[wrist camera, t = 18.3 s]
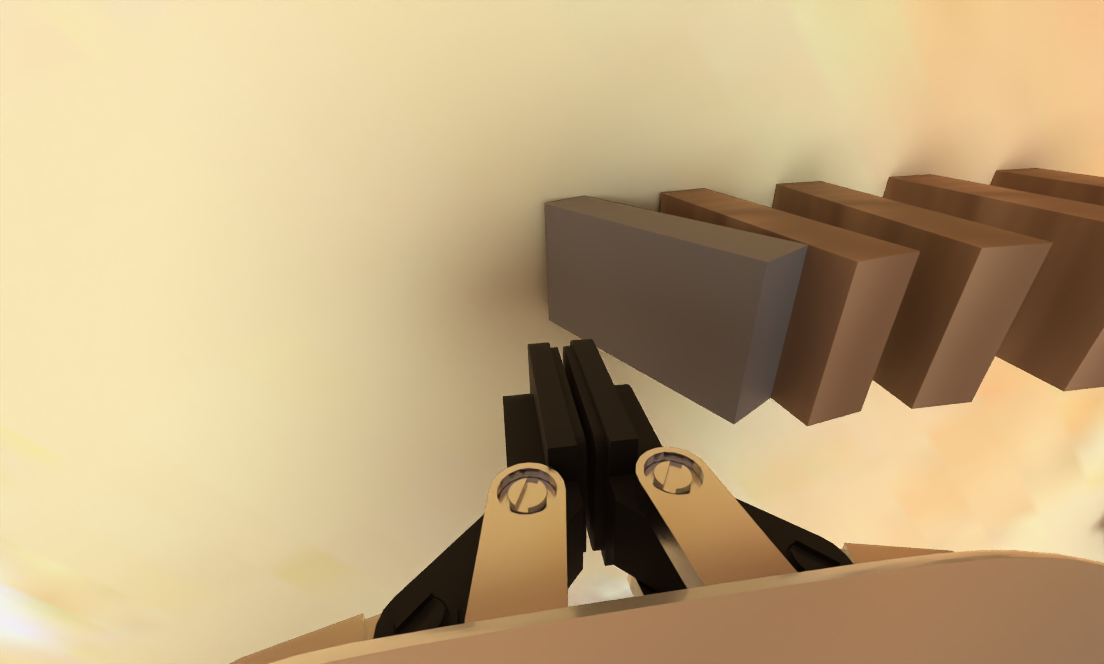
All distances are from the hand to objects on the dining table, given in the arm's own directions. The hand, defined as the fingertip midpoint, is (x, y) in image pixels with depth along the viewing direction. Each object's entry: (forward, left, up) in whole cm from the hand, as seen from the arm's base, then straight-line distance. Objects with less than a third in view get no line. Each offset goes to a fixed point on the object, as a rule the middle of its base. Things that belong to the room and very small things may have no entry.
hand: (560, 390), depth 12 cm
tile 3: (+12, +1, -9) cm, 15 cm away
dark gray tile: (+1, +1, -8) cm, 8 cm away
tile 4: (+17, +1, -9) cm, 19 cm away
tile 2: (+6, +1, -9) cm, 11 cm away
